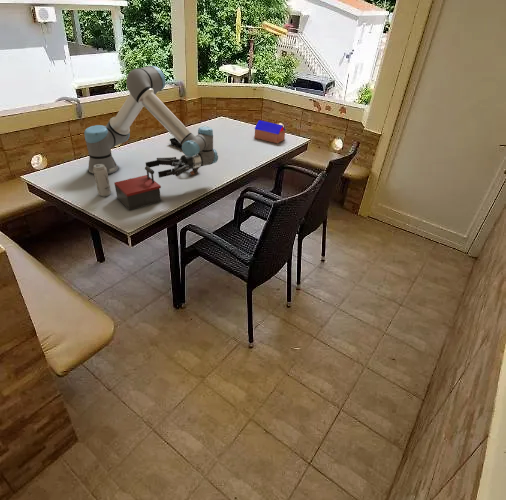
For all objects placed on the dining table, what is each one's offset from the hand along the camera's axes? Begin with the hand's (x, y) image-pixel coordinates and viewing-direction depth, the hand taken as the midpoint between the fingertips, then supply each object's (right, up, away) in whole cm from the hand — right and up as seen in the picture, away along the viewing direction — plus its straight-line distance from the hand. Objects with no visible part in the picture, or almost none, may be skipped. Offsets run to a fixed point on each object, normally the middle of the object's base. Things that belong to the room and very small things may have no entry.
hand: (152, 170), depth 168 cm
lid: (-7, -8, -1) cm, 11 cm away
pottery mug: (+13, +9, +31) cm, 35 cm away
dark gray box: (-8, -14, +3) cm, 16 cm away
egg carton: (+6, +30, +66) cm, 73 cm away
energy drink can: (-25, -11, +6) cm, 28 cm away
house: (+61, +44, +91) cm, 119 cm away
